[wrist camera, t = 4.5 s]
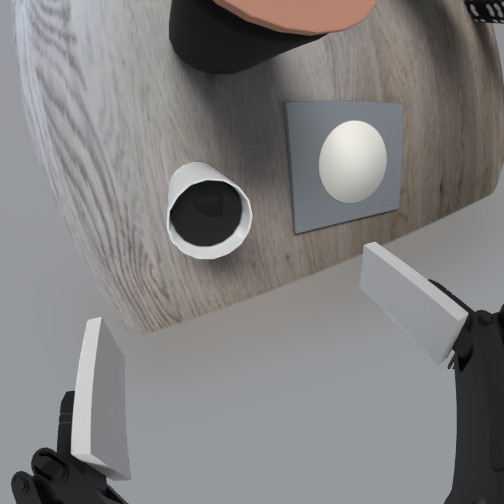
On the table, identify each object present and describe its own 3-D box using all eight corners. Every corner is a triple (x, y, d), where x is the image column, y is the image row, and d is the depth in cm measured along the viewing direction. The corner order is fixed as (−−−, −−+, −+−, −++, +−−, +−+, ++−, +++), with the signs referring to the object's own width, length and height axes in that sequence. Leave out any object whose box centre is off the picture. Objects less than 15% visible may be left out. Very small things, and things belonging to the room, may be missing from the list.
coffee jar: (273, 1, 22) (377, -65, 6) (263, 81, 26) (377, 60, 11) (176, -12, 18) (205, -117, 3) (161, 73, 23) (162, 13, 8)
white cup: (161, 161, 27) (160, 183, 19) (223, 154, 29) (251, 173, 20) (168, 220, 30) (172, 265, 22) (226, 212, 32) (253, 252, 24)
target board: (283, 102, 28) (286, 102, 27) (398, 103, 32) (403, 104, 31) (293, 231, 36) (296, 234, 35) (395, 206, 40) (399, 208, 39)
